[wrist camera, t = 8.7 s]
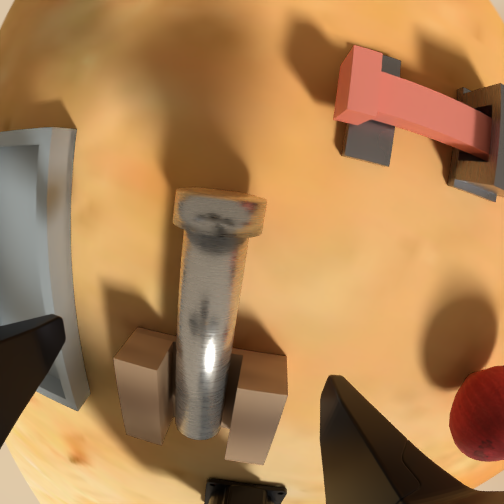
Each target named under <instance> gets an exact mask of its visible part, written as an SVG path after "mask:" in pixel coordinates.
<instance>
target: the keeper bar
mask: <svg viewBox="0 0 504 504" xmlns="http://www.w3.org/2000/svg"><path fill="white" fill-rule="evenodd" d="M382 55H383V53H380V52H377V51H374V50H370V49H367V48H363V47H360V46H356V45H354V46H353V48H352V49H351V51H350V52H349V54H348V55H347V56H346V58H345V59H344V61H343V62H342V64H341V65H340V72H339V80H338V88H337V96H336V103H335V110H334V117H333V120H337V121H341V122H346V123H350V124H354V125H359V124H362V123H364V122H366V121H368V120H371V119H372V120H375V121H379V122H382V123H386V124H389V125H392V126H396V127H399V128H402V129H405V130H408V131H411V132H414V133H417V134H420V135H423V136H426V137H428V138H431V139H434V140H437V141H439V142H442V143H444V144H447V145H450V146H452V147H455V148H457V149H459V150H462V151H464V152H467V153H469V154H471V155H474V156H476V157H478V158H480V159H483V160H485V161H487V162H488V159H489V150H490V139H491V125H492V118H491V117H489V116H487V115H485V114H483V113H481V112H479V111H477V110H475V109H474V108H472V107H469V106H467V105H465V104H463V103H461V102H459V101H457V100H455V99H453V98H450V97H448V96H446V95H444V94H441V93H439V92H437V91H434V90H432V89H429V88H427V87H424V86H422V85H419V84H416V83H414V82H411V81H408V80H406V79H403V78H400V77H397V76H394V75H391V74H388V73H385V72H381V69H382Z"/></svg>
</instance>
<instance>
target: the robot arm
mask: <svg viewBox="0 0 504 504" xmlns="http://www.w3.org/2000/svg"><path fill="white" fill-rule="evenodd" d="M65 341H66V334H65V328H64V322H63V319H62V317H61V316H58V315H55V314H49V315H45V316H40V317H36V318H32V319H28V320H24V321H20V322H15V323H11V324H7V325H3V326H0V449H1V447H2V445H3V443H4V442H5V440H6V438H7V436H8V435H9V433H10V431H11V430H12V428H13V426H14V425H15V423H16V421H17V420H18V418H19V416H20V415H21V413H22V412H23V410H24V409H25V407H26V405H27V404H28V402H29V401H30V399H31V398H32V396H33V395H34V393H35V392H36V390H37V389H38V387H39V386H40V384H41V383H42V381H43V380H44V378H45V377H46V375H47V374H48V372H49V370H50V368H51V367H52V365H53V363H54V361H55V359H56V358H57V356H58V354H59V352H60V350H61V349H62V347H63V345H64V343H65ZM320 446H321V455H322V465H323V474H324V485H325V495H326V504H504V491H477V490H474V489H471V488H469V487H467V486H466V485H464V484H462V483H461V482H460V481H458V480H457V479H456V478H454V477H453V476H451V475H450V474H449V473H447V472H446V471H445V470H443V469H442V468H441V467H439V466H438V465H437V464H435V463H434V462H433V461H432V460H430V459H429V458H428V457H427V456H425V455H424V454H423V453H422V452H421V451H420V450H419V449H418V448H416V447H415V446H414V445H413V444H412V443H411V442H410V441H409V440H407V438H406V437H405V436H404V435H403V434H402V433H401V432H399V431H398V430H397V429H396V428H395V427H394V426H393V425H392V424H391V423H390V422H389V421H388V420H387V419H386V418H385V417H384V416H383V415H382V414H381V413H380V412H379V411H378V410H377V409H376V408H375V407H374V406H373V405H372V404H371V403H369V402H368V401H367V400H366V399H365V398H364V397H363V396H362V395H361V394H360V393H359V392H358V391H357V390H356V389H355V388H354V387H353V386H352V385H351V384H350V383H349V382H348V381H347V380H346V379H345V378H344V377H343V376H341V375H330V376H329V377H328V378H327V381H326V383H325V386H324V389H323V391H322V394H321V399H320ZM286 494H287V489H286V488H283V487H271V486H260V485H251V484H244V483H236V482H230V481H224V480H218V479H208V480H207V484H206V494H205V503H204V504H281V502H282V501H283V499H284V497H285V496H286Z"/></svg>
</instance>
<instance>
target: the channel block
mask: <svg viewBox="0 0 504 504" xmlns="http://www.w3.org/2000/svg"><path fill="white" fill-rule="evenodd" d="M176 340H177V336H173V335H168V334H164V333H160V332H156V331H152V330H147V329H144V328H140V327H137V328H136V330H135V331H134V332H133V333H132V335H131V336H130V337H129V338H128V340H127V341H126V342H125V344H124V345H123V346H122V347H121V349H120V350H119V351H118V353H117V354H116V355H115V357H114V358H113V359H114V367H115V374H116V381H117V387H118V394H119V399H120V405H121V410H122V416H123V421H124V426H125V430H126V434H127V435H129V436H132V437H136V438H139V439H142V440H145V441H148V442H152V443H155V444H159V445H162V444H163V441H164V439H165V436H166V433H167V431H168V428H169V426H170V423H171V421H172V418H173V417H176V406H175V389H176ZM287 396H288V382H287V356H281V355H274V354H267V353H261V352H255V351H248V350H243V349H237V348H232V353H231V360H230V366H229V373H228V380H227V387H226V393H225V400H224V407H223V414H222V421H221V427H223V428H228V429H230V432H229V437H228V443H227V448H226V454H225V459H224V460H230V461H237V462H243V463H251V464H259V465H264V463H265V460H266V457H267V455H268V452H269V449H270V446H271V444H272V441H273V438H274V435H275V432H276V429H277V426H278V424H279V421H280V418H281V415H282V412H283V409H284V406H285V403H286V399H287Z"/></svg>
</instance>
